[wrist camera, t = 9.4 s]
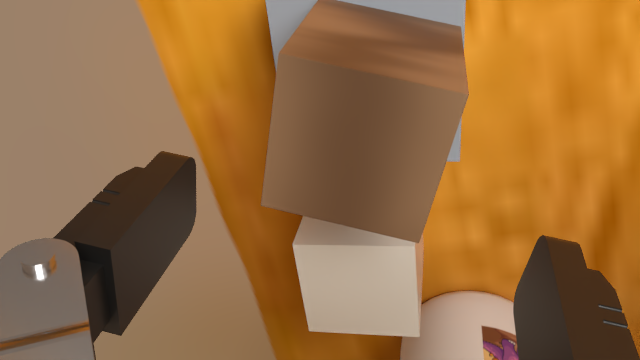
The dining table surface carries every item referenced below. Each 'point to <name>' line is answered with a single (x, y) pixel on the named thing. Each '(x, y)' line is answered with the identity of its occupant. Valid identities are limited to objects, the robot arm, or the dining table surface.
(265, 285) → the dining table surface
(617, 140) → the dining table surface
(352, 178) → the walnut block
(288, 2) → the base block
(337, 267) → the beige block
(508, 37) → the dining table surface
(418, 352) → the milk bottle
